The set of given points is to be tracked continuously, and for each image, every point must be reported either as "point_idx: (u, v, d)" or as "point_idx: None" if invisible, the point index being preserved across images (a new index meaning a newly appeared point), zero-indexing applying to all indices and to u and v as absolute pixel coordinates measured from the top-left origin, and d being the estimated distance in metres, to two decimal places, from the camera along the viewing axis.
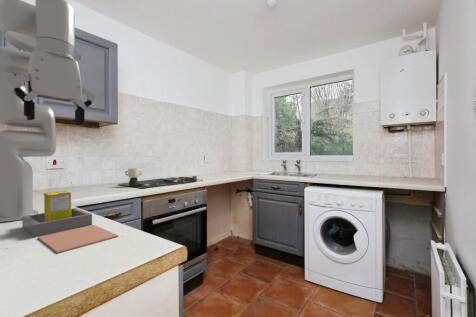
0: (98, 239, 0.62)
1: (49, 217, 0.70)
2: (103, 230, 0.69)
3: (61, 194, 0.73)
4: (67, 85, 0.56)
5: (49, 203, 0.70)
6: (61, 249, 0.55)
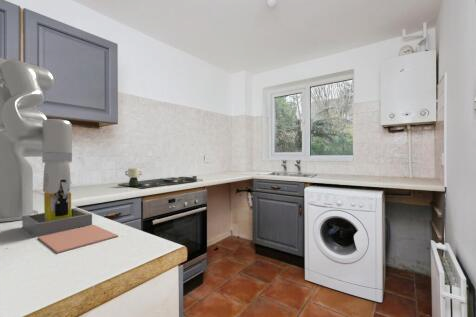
0: (98, 239, 0.62)
1: (49, 217, 0.70)
2: (103, 230, 0.69)
3: None
4: None
5: (49, 203, 0.70)
6: (61, 249, 0.55)
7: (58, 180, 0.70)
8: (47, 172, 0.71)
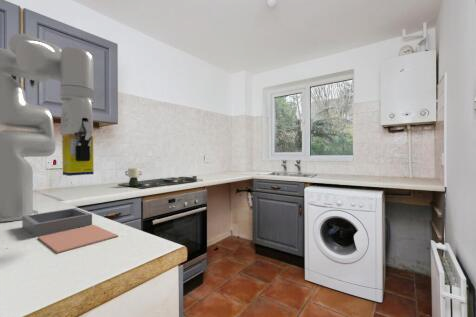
0: (98, 239, 0.62)
1: (69, 160, 0.60)
2: (103, 230, 0.69)
3: None
4: None
5: (69, 144, 0.60)
6: (61, 249, 0.55)
7: (79, 117, 0.60)
8: (66, 109, 0.61)
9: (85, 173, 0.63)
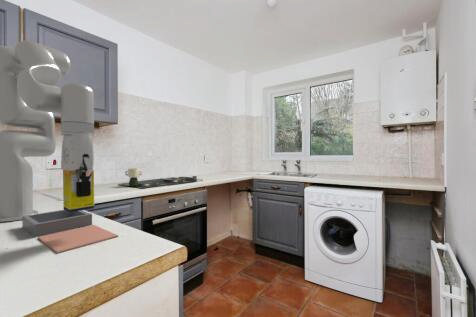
0: (98, 239, 0.62)
1: (69, 197, 0.60)
2: (103, 230, 0.69)
3: None
4: None
5: (69, 181, 0.60)
6: (61, 249, 0.55)
7: (80, 154, 0.60)
8: (67, 145, 0.61)
9: (86, 208, 0.63)
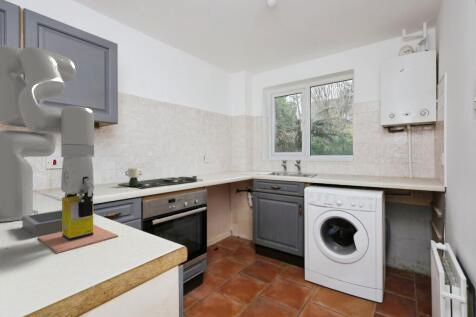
0: (98, 239, 0.62)
1: (69, 226, 0.60)
2: (103, 230, 0.69)
3: None
4: None
5: (69, 210, 0.60)
6: (61, 249, 0.55)
7: (80, 177, 0.60)
8: (67, 168, 0.61)
9: (85, 235, 0.63)
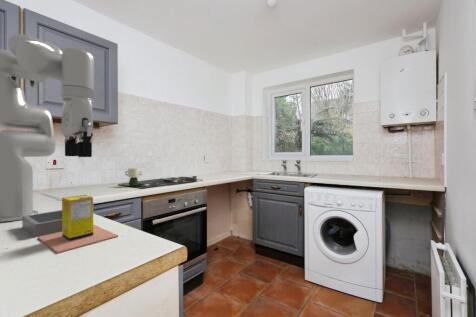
0: (98, 239, 0.62)
1: (69, 226, 0.60)
2: (103, 230, 0.69)
3: (82, 199, 0.63)
4: None
5: (69, 210, 0.60)
6: (61, 249, 0.55)
7: (80, 117, 0.61)
8: (67, 109, 0.62)
9: (85, 235, 0.63)
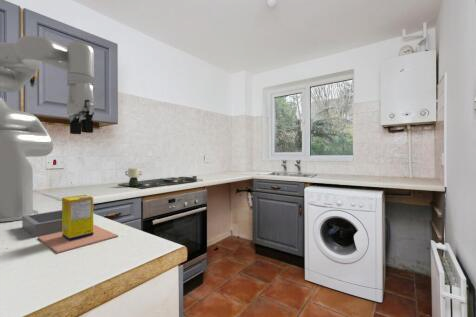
0: (98, 239, 0.62)
1: (69, 226, 0.60)
2: (103, 230, 0.69)
3: (82, 199, 0.63)
4: None
5: (69, 210, 0.60)
6: (61, 249, 0.55)
7: (83, 99, 0.73)
8: (72, 93, 0.75)
9: (85, 235, 0.63)
